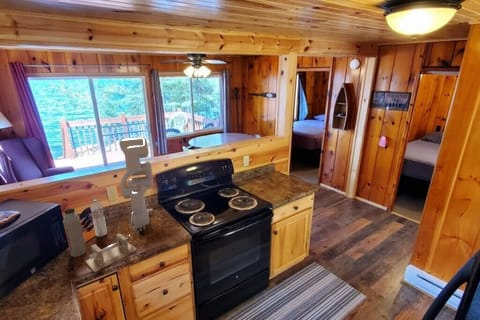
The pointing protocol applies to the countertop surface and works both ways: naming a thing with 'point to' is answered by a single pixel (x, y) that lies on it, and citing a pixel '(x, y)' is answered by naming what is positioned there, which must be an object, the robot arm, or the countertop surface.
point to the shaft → (112, 246)
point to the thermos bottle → (74, 233)
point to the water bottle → (98, 219)
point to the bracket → (110, 254)
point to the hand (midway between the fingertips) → (142, 234)
